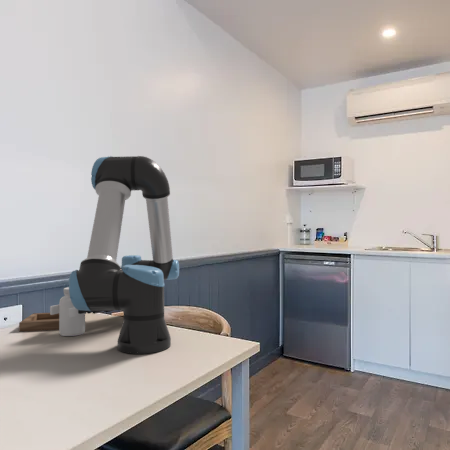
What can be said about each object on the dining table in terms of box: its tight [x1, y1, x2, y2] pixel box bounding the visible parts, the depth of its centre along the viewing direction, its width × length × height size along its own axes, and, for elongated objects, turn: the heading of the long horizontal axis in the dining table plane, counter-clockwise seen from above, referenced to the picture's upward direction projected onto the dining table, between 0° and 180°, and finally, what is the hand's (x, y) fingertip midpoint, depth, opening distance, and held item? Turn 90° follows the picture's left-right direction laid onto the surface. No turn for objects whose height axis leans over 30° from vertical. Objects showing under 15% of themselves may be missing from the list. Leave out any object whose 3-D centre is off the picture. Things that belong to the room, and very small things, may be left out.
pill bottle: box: [58, 286, 86, 337], centre depth 132 cm, size 8×8×15 cm
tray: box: [18, 312, 59, 333], centre depth 145 cm, size 15×15×3 cm
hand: (59, 311), depth 128 cm, fingers closed on pill bottle, 8 cm apart
